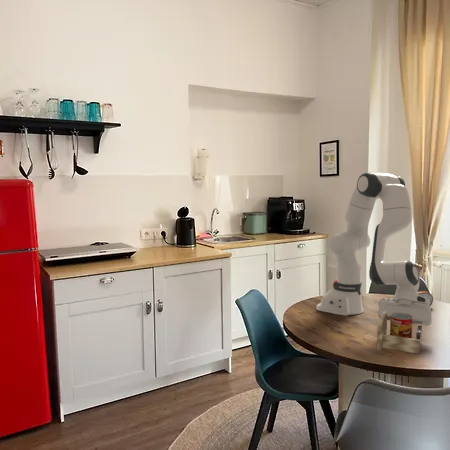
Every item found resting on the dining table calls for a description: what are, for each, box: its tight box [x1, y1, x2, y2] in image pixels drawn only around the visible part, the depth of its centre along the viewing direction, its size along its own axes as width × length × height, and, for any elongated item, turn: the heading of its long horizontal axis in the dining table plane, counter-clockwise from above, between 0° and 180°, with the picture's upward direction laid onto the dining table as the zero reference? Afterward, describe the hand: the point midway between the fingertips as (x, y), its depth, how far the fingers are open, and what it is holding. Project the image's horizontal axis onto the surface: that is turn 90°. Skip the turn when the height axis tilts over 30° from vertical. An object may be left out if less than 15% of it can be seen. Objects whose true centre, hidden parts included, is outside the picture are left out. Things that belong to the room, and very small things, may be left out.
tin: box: [418, 290, 434, 307], centre depth 216 cm, size 15×3×8 cm, turn 100°
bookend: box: [415, 324, 423, 349], centre depth 168 cm, size 1×8×7 cm, turn 152°
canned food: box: [389, 313, 413, 339], centre depth 169 cm, size 8×8×12 cm
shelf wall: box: [376, 311, 421, 354], centre depth 168 cm, size 14×14×11 cm
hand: (402, 331), depth 173 cm, fingers closed
